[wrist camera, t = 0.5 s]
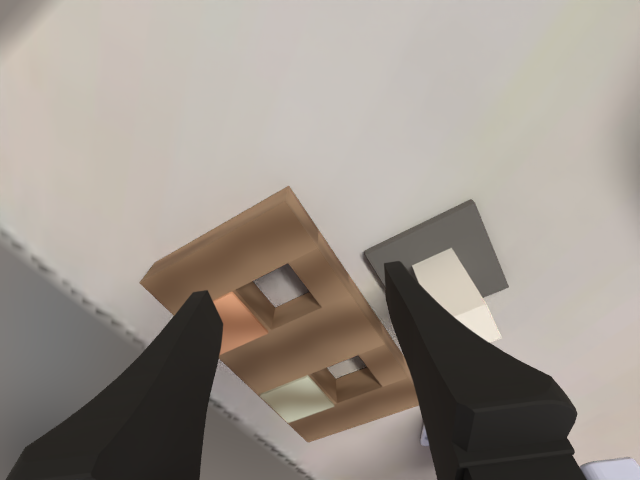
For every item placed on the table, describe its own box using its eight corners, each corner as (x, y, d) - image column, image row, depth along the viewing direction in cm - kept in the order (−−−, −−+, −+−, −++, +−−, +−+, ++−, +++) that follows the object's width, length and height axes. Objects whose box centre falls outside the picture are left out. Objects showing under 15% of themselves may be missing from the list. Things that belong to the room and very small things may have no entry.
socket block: (418, 378, 32) (426, 405, 30) (308, 417, 35) (307, 444, 33) (288, 185, 23) (284, 202, 20) (154, 262, 26) (138, 284, 24)
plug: (465, 277, 26) (502, 337, 20) (427, 293, 26) (453, 355, 21) (451, 247, 24) (486, 303, 19) (411, 265, 25) (435, 324, 20)
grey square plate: (505, 282, 26) (508, 287, 26) (408, 321, 29) (410, 326, 28) (471, 199, 23) (474, 202, 23) (364, 250, 25) (365, 255, 25)
